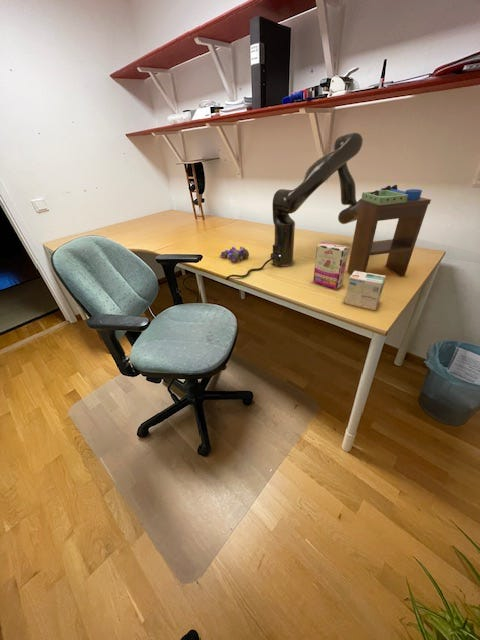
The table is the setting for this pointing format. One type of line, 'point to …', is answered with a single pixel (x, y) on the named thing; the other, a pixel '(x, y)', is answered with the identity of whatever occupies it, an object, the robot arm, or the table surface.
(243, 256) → the purple lumpy cluster
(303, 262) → the table surface
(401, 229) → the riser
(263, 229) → the table surface
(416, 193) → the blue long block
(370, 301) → the light bulb box
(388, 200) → the green shallow tray
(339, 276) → the candy bar box
